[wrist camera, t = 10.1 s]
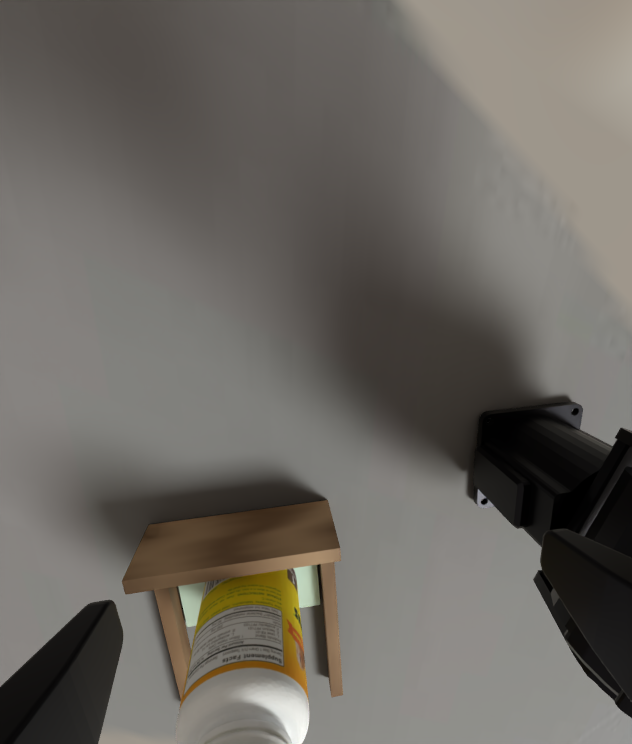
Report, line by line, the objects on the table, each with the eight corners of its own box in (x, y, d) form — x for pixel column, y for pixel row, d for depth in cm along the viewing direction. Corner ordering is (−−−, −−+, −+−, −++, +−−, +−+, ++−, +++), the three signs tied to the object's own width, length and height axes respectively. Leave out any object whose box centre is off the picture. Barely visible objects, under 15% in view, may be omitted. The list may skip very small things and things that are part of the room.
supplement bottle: (283, 616, 24) (292, 859, 14) (197, 605, 23) (142, 860, 13) (307, 546, 22) (337, 759, 13) (218, 531, 21) (175, 752, 12)
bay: (327, 499, 22) (340, 548, 18) (339, 676, 26) (351, 745, 22) (148, 524, 21) (122, 581, 17) (190, 704, 25) (176, 782, 21)
